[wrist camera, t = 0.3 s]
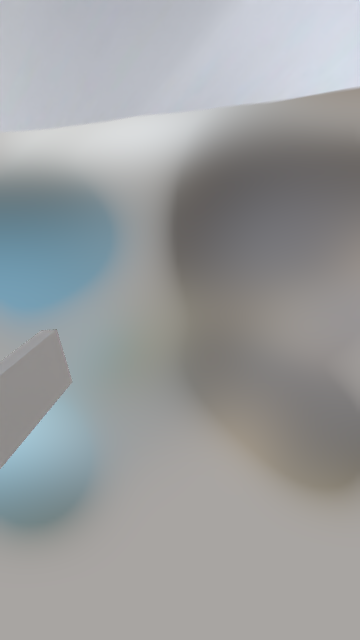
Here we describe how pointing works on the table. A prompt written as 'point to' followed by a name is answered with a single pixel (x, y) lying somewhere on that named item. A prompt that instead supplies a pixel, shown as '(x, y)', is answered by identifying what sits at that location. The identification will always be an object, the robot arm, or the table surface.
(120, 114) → the table surface
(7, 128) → the table surface
